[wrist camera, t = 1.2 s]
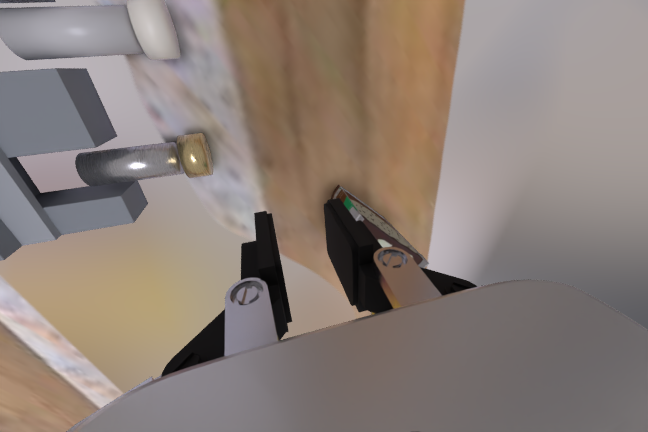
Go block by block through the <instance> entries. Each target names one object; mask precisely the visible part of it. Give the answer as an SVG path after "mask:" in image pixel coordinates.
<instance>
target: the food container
mask: <svg viewBox="0 0 648 432" xmlns="http://www.w3.org/2000/svg"><path fill="white" fill-rule="evenodd" d="M336 198H340V199H341V201H342V202H343V204H344V205H345V206H346V208H347V209H348V210H349V212H350V213H351V214H352V216H353V217H354V218H355V220H356V221H358V220H361V221H362V222H363V223H364V224H365V225H366V227H367V228H368V229H369V230H370V232H371V233H372V234H373V236H374V237H375V238H376V239H377V241H378V242H379V243H380V245H381V246H382V247H383V248H384V247H396V248H400V249H402V250H404V251H406V252H407V253H408V254H409V255H410V256H411V257H412V258H413V260H414V261H415V262H416V263H417V265H418V266H419V267H421V268H425V267H426V266H427V265H428V264H429V263H428V262H427V260H426V259H425V258H424V257H423V256H422V255H421V254H420V253H419V252H418V251H417V250H416V249H415V248H414V247H413V246H412V245H411V244H410V243H409V242H408V241H407V240H406V239H405V238H404V237H403V236H402V235H401V234H400V233H399V232H398V231H397V230H396V229H395V228H394V227H393V226H392V225H391V224H390V223H389V222H388V221H387V220H386V219H385V218H384V217H383V216H381V215H380V214H378V213H377V212H376V211H374V210H373V209H372V208H370V207H369V206H368V205H366V204H365V203H363V202H362V201H361V200H359V199H358V198H357V197H355V196H354V195H352V194H351V193H350V192H348V191H347V190H346V189H344V188H343V187H341V186H340V185H338V186H337V188H336V189H335V191H334V192H333V195H332V198H331V199H336Z"/></svg>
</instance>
